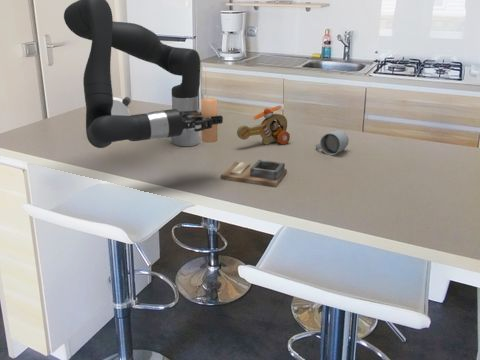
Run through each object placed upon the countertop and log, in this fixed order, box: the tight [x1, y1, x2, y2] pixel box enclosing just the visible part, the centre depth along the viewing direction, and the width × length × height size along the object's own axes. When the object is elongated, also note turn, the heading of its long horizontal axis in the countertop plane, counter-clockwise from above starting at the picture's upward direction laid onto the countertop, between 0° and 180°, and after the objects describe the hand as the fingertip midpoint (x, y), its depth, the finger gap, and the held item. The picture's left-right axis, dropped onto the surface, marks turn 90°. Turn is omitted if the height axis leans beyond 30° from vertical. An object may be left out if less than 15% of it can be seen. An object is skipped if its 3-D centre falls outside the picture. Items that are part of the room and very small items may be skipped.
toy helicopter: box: [236, 105, 291, 146], centre depth 172 cm, size 8×21×14 cm, turn 123°
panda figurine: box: [111, 96, 131, 143], centre depth 178 cm, size 12×11×15 cm
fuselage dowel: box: [200, 97, 218, 144], centre depth 140 cm, size 5×5×12 cm
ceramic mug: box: [315, 129, 349, 156], centre depth 168 cm, size 11×8×8 cm
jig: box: [220, 159, 288, 188], centre depth 146 cm, size 17×12×4 cm
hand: (217, 117), depth 141 cm, fingers closed on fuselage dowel, 4 cm apart
